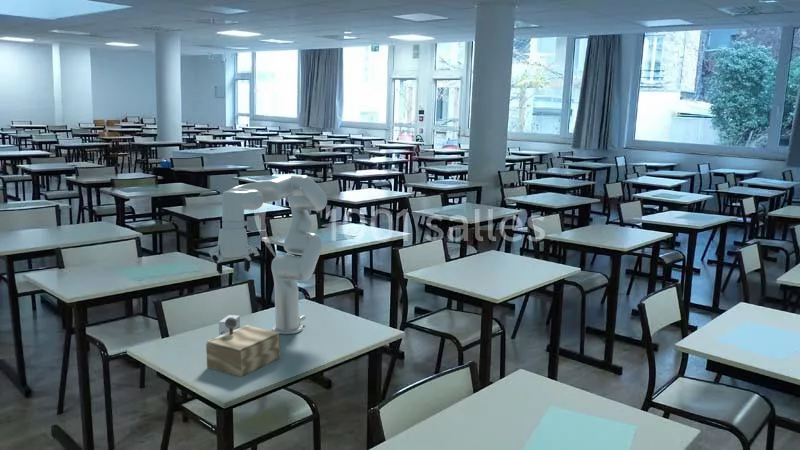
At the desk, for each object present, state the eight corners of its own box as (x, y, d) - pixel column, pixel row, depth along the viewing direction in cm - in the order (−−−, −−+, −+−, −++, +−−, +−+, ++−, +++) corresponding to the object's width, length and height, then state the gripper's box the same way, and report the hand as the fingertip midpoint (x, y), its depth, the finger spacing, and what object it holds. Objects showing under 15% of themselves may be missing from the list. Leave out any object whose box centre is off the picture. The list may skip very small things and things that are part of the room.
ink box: (229, 343, 244) (228, 314, 242) (241, 344, 243) (240, 315, 241) (219, 351, 236) (217, 321, 234) (231, 352, 235) (230, 322, 233)
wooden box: (247, 349, 238) (247, 326, 236) (280, 358, 230) (279, 334, 228) (207, 367, 221) (206, 343, 219) (240, 377, 213) (239, 352, 211)
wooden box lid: (246, 326, 236) (246, 309, 235) (279, 334, 228) (278, 316, 227) (206, 342, 220) (205, 324, 218) (239, 351, 212) (239, 332, 210)
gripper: (253, 222, 233) (253, 268, 235) (206, 224, 224) (206, 272, 226) (260, 225, 226) (260, 272, 228) (211, 227, 217) (212, 276, 220)
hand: (233, 272), depth 227 cm, fingers open, 9 cm apart
